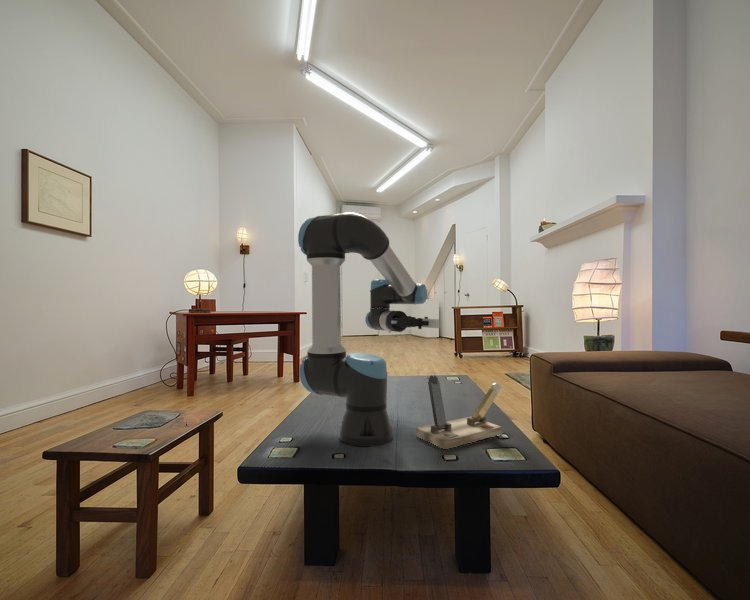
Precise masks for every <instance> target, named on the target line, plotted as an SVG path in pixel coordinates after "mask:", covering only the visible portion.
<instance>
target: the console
mask: <svg viewBox="0 0 750 600" xmlns="http://www.w3.org/2000/svg"><path fill="white" fill-rule="evenodd" d="M471 417H473V415H472V416H467V417H462V418H457V419H456V418H455V419H452V420H446V424H447V428H446V429H443V430H438V427H437V426H435V423H433V424H428V425H423V426H419V427H416V428H415V430H416V434H415V435H416V436H415V437H417V438H418V439H420V438H421V440H422V439H423V441H425V442H427V441H428V442H427V443H429V442H430V443H429V444H431V443H432V444H431V445H433V444H434V445H433V446H435V445H436V446H435V447H437V446H439V447H441V448H444V449H447V448H451V447H454V446H458V445H462V444H466V443H469V442H473V441H477V440H481V439H484V438H488V437H492V436H495V435H499V434H502V435H503V427H502V426H501V425H498V424H495V423H492V422H489V421H487V417H486V416H485V415H484V417H483V418H482V421H479V422H475V419H473V418H471ZM439 447H438V448H439ZM441 448H440V449H441Z"/></svg>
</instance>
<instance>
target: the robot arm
mask: <svg viewBox="0 0 750 600" xmlns="http://www.w3.org/2000/svg"><path fill="white" fill-rule="evenodd" d="M297 237H298V239H297V241H298V247H299V248H300V251H301V253H303V254H304V256H306V261H307V263H309V264H310V266H311V306H312V307H311V309H312V310H311V315H312V317H311V318H312V319H311V320H312V321H311V323H312V325H311V326H312V329H311V330H312V333H311V335H312V336H311V337H312V344H311V346H310V347H309V348H308V349H307V355H305V356H304V357H303V358H302V360H301V363H300V365H299V370H298V371H299V373H298V374H299V380H300V382H301V383H300V384H302V386H303V388H305V390H306V391H308V392H309V393H313V394H316V395H318V396H319V395H320V396H330V397H331V396H332V397H339V398H345V412H344V415H343V419H342V423H341V426H340V427H339V439H340V440H341V442H343V443H345V444H347V445H351V446H356V447H375V446H381V445H384V444H387V443H389V442H390V441H392V439H393V427H392V425H391V421H390V418H389V415H388V413H389V412H388V409H387V405H388V404H387V400H388V397H387V396H388V395H387V394H388V393H387V392H388V369H387V362H386V361H385V359H384V358H382V357H381V356H379V355H376V354H371V353H366V352H365V353H362V352H350V353H348V354H347V351H346V350H347V349H346V348H345V347H344V346H343V345H342V341H341V340H342V338H341V337H342V333H341V332H342V329H341V328H342V327H341V326H342V325H341V324H342V323H341V322H342V320H341V319H342V317H341V313H342V312H341V311H342V309H341V308H342V307H341V301H342V300H341V267H342V265H343V264H344V262H345V261H346V254H350V253H353V254H359V255H360V256H361V257H362V258H364V259H365V260H367V261H370V263H371V264H372V265H373V266H374V267H375V268H376V269H377V271H378V272H379V274H381V275H382V277H383V279H380V278H379V279H378V278H377V279H372V280H371V282H370V291H369V292H370V308H369V311H368V312H367V313H366V315H365V319H364V320H365V324H366V326H367V327H368V328H370V329H372V330H375V331H385V332H386V331H388V333H391V332H397V333H402V332H404V331H406V329H407V328H416V327H417V328H418V330H422V328H428V329H429V328H431V329H440V319H439V318H429V317H428V316H424V317H423V318H422V317H418V318H417V317H415V316H410V315H407V313H405V312H404V311H402V310H390V308H391V305H413V306H414V305H422V304H424V303H426V301H427V299H428V298H427V297H428V289H427V287H426V285H425V284H424V283H419V282H418V283H416V282H415V281H414V279H413V278H412V277H411V274H409V272H408V270H407V269H406V267H405V266H404V265H403V263H402V262H401V260H400V259H399V257H398V256H397V255H396V253H395V251H394V250H393V249H392V247H391V246H390V239H389V237H388V235H387V234H386V233H385V231H384V230H383V229H382V228H381V227H380V226H379V225H378V224H376V222H374V221H372V219H370V218H367V217H366V216H364V215H362V214H359V213H357V212H351V211H350V212H349V211H348V212H343V213H335V214H327V215H326V214H325V215H317V216H315V217H311V218H310V217H309V218H308V219H306V220H305V221H304V222H303V223H302V224H301V226H300V228H299V231H298V236H297Z"/></svg>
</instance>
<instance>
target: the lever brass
mask: <svg viewBox="0 0 750 600" xmlns="http://www.w3.org/2000/svg"><path fill="white" fill-rule="evenodd" d="M501 390H502V386H501V385H500V383H498V382H493V383H492V384H491V385H490V388H488V391H487V392H486V394H485V395H484V397H483V398H482V400H481V402H480V403H479V405H478V407H477V409H476V410H475V412H474V413H473V415H472V417H471V418H473V419H475V422H479V421H482V418H483V417H484V416H485V415H486V413H487V412H488V410H489V409H490V407H491V405H492V404H493V403H494V401H495V399H496V397H497V395H499V393H500V392H501Z"/></svg>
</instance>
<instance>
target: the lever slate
mask: <svg viewBox="0 0 750 600" xmlns="http://www.w3.org/2000/svg"><path fill="white" fill-rule="evenodd" d="M427 383H428V390H429V397H430V402H431V410H432V416H433V422H434V423H433V424H435V426H437V427H438V430H443V429H446V428H447V424H446V421H447V418H446V414H445V408H444V401H443V396H442V390H441V383H440V380H439V378H438V376H437V375H435V374H432V375H430V376H429V377H428V382H427Z"/></svg>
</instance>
